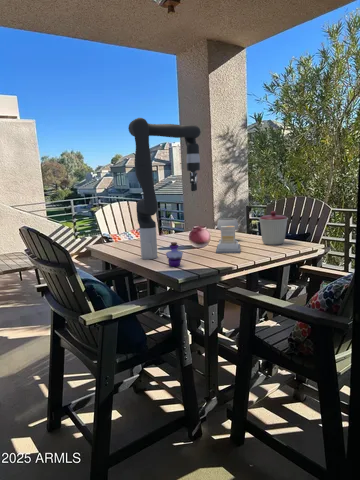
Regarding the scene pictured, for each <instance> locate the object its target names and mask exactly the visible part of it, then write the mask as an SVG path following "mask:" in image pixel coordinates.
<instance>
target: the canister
mask: <svg viewBox="0 0 360 480" xmlns="http://www.w3.org/2000/svg"><path fill="white" fill-rule="evenodd" d="M258 220H259V224H260V233H261V234H260V235H261V240H262V242H263V244H265V245H269V246H279V245H282V244H283V243H284V242H285V241H286V233H287V224H288V220H289V217H287V216H286V215H282V214H281V215H280V214H277V211H276V210H272V211H270V214H268V215H262V216H260V217H259V218H258Z"/></svg>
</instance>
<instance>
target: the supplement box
mask: <svg viewBox="0 0 360 480" xmlns="http://www.w3.org/2000/svg"><path fill="white" fill-rule="evenodd" d="M220 239H221V244H235V239H236V230H235V226H221V230H220Z"/></svg>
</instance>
